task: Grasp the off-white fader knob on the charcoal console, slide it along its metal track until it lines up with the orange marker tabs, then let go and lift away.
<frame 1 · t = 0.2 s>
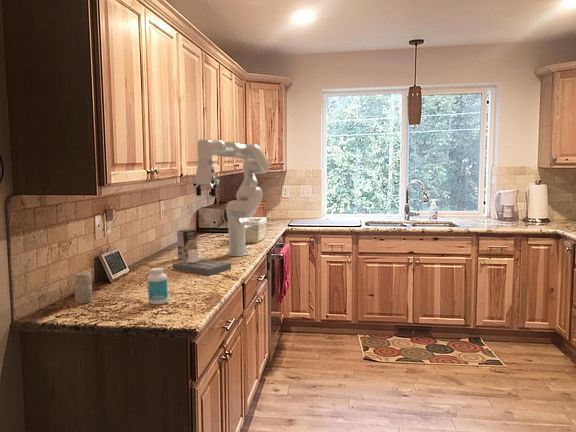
hand: (205, 195, 258), 36 cm above the countertop, tool pointing down, fingers open, 9 cm apart
coffee box: (187, 258, 275), on the countertop
storage basket: (252, 240, 332), on the countertop
grey cylinder: (84, 302, 194), on the countertop
pill bottle: (158, 302, 192), on the countertop
fader: (193, 255, 250), point 6 cm above the countertop, slide at 0.0 cm
console: (202, 269, 248), on the countertop
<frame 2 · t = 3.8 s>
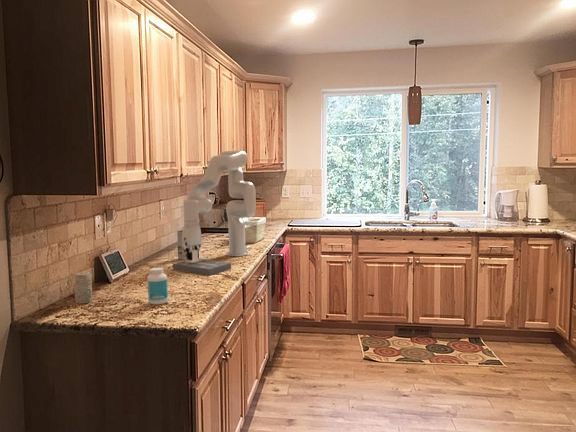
hand: (193, 258, 250), 5 cm above the countertop, tool pointing down, fingers closed on fader, 4 cm apart
fader: (193, 255, 250), point 6 cm above the countertop, slide at 0.0 cm, touching gripper
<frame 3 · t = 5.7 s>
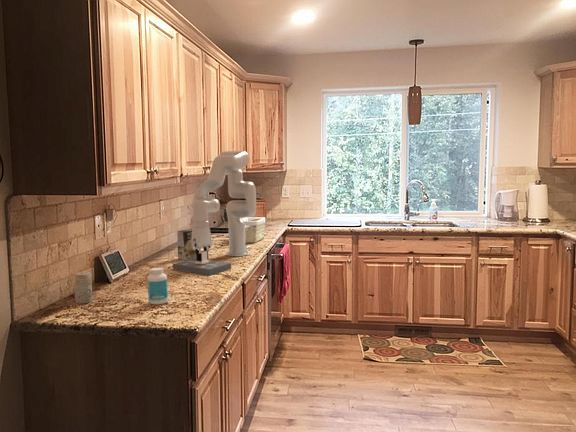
hand: (202, 259, 247), 5 cm above the countertop, tool pointing down, fingers closed on fader, 4 cm apart
fader: (202, 257, 247), point 6 cm above the countertop, slide at 6.6 cm, touching gripper
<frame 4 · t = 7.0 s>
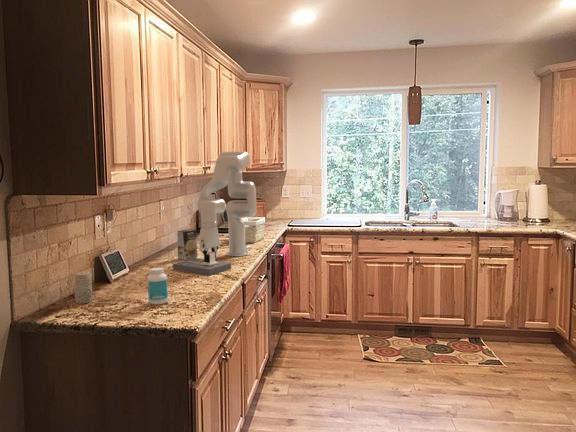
hand: (210, 261, 244), 5 cm above the countertop, tool pointing down, fingers closed on fader, 4 cm apart
fader: (210, 258, 244), point 6 cm above the countertop, slide at 11.9 cm, touching gripper
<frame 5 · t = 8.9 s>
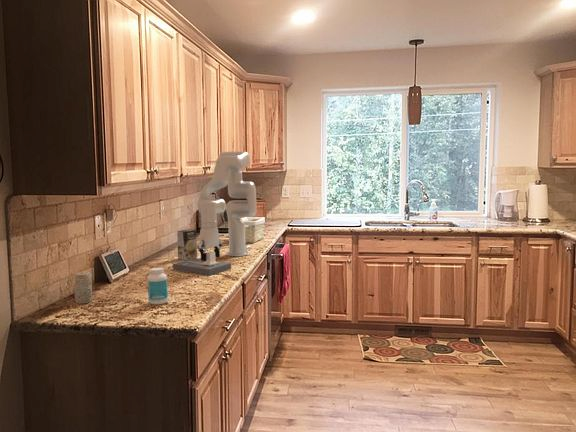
hand: (210, 258, 244), 6 cm above the countertop, tool pointing down, fingers open, 9 cm apart
fader: (210, 258, 244), point 6 cm above the countertop, slide at 12.0 cm
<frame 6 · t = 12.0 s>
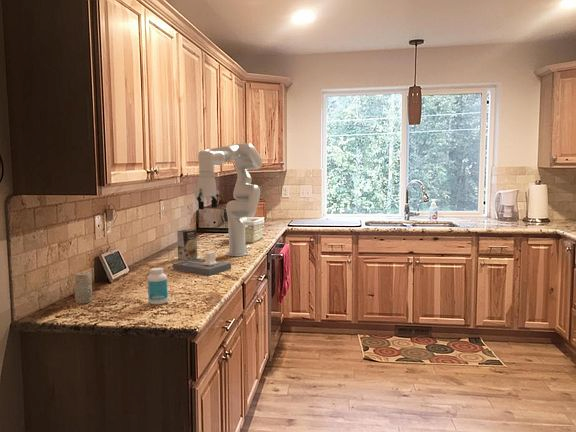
hand: (207, 208, 252), 30 cm above the countertop, tool pointing down, fingers open, 9 cm apart
at the end: fader slide at 12.0 cm; the gripper is holding nothing; coffee box moved 0.2 cm from its start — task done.
